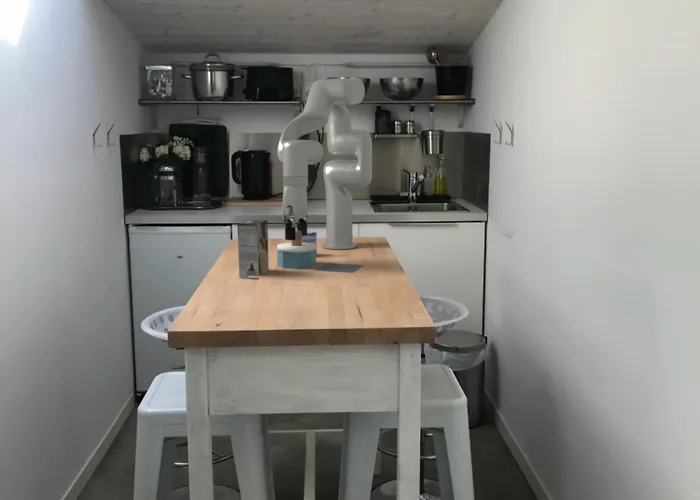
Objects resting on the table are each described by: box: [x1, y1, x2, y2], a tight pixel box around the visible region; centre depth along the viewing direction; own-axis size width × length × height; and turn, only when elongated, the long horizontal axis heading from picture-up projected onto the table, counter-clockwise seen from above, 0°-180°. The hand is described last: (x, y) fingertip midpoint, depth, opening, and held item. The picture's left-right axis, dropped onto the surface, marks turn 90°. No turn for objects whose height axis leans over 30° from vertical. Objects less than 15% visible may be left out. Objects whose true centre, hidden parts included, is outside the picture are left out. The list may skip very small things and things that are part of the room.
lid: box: [276, 230, 316, 252], centre depth 223 cm, size 12×12×6 cm
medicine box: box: [302, 230, 318, 256], centre depth 241 cm, size 8×4×9 cm, turn 143°
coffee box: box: [236, 219, 270, 280], centre depth 212 cm, size 9×6×16 cm
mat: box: [315, 262, 365, 274], centre depth 220 cm, size 12×12×1 cm
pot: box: [276, 249, 317, 270], centre depth 224 cm, size 11×11×6 cm
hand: (296, 237), depth 223 cm, fingers open, 9 cm apart
